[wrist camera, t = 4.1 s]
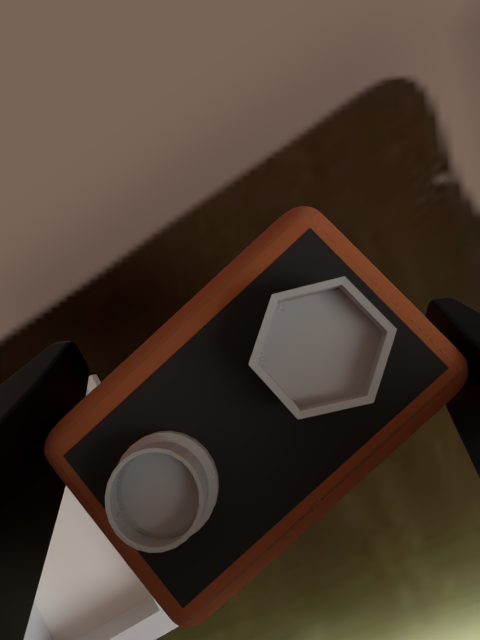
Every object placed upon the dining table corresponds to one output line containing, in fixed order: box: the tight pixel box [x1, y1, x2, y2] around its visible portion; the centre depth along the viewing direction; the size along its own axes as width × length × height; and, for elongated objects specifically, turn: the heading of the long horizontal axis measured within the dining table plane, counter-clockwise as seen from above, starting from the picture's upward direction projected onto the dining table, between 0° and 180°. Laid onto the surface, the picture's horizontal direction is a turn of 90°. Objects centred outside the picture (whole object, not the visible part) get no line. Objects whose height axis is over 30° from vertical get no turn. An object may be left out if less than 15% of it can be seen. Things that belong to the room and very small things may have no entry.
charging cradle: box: [24, 374, 178, 640], centre depth 20 cm, size 13×10×3 cm
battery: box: [44, 206, 468, 627], centre depth 11 cm, size 4×7×10 cm, turn 132°
